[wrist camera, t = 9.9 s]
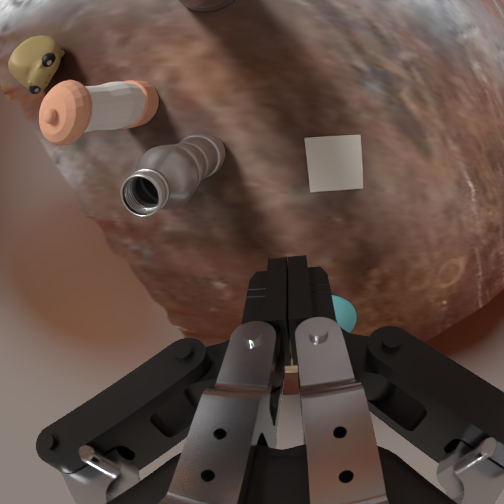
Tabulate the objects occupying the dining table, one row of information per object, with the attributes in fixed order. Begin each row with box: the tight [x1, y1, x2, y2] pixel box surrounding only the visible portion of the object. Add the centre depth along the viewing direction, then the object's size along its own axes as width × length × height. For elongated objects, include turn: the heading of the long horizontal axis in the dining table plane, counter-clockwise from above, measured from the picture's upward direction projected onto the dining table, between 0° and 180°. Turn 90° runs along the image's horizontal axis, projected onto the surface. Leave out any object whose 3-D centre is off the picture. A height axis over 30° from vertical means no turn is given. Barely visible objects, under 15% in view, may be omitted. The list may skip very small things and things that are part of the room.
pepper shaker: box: [39, 80, 159, 145], centre depth 25 cm, size 7×7×19 cm
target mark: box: [332, 295, 357, 333], centre depth 51 cm, size 14×14×1 cm
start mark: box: [304, 135, 363, 192], centre depth 36 cm, size 8×8×1 cm
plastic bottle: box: [121, 132, 226, 217], centre depth 28 cm, size 6×7×20 cm
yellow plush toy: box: [8, 35, 65, 94], centre depth 25 cm, size 10×12×11 cm
